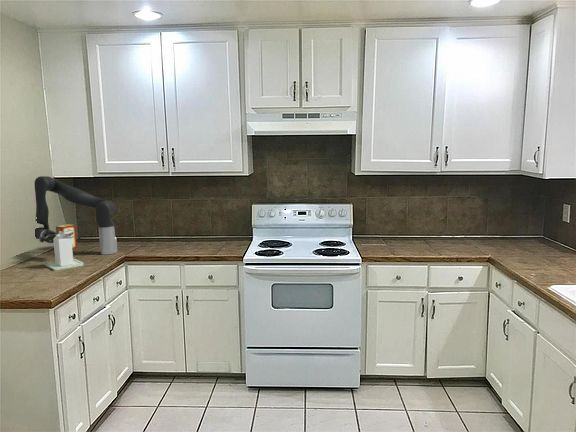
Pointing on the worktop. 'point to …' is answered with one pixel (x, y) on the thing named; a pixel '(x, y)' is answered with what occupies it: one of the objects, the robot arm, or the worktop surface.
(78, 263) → the tray
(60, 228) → the baking soda box
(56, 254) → the milk carton
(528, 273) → the worktop surface
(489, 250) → the worktop surface
